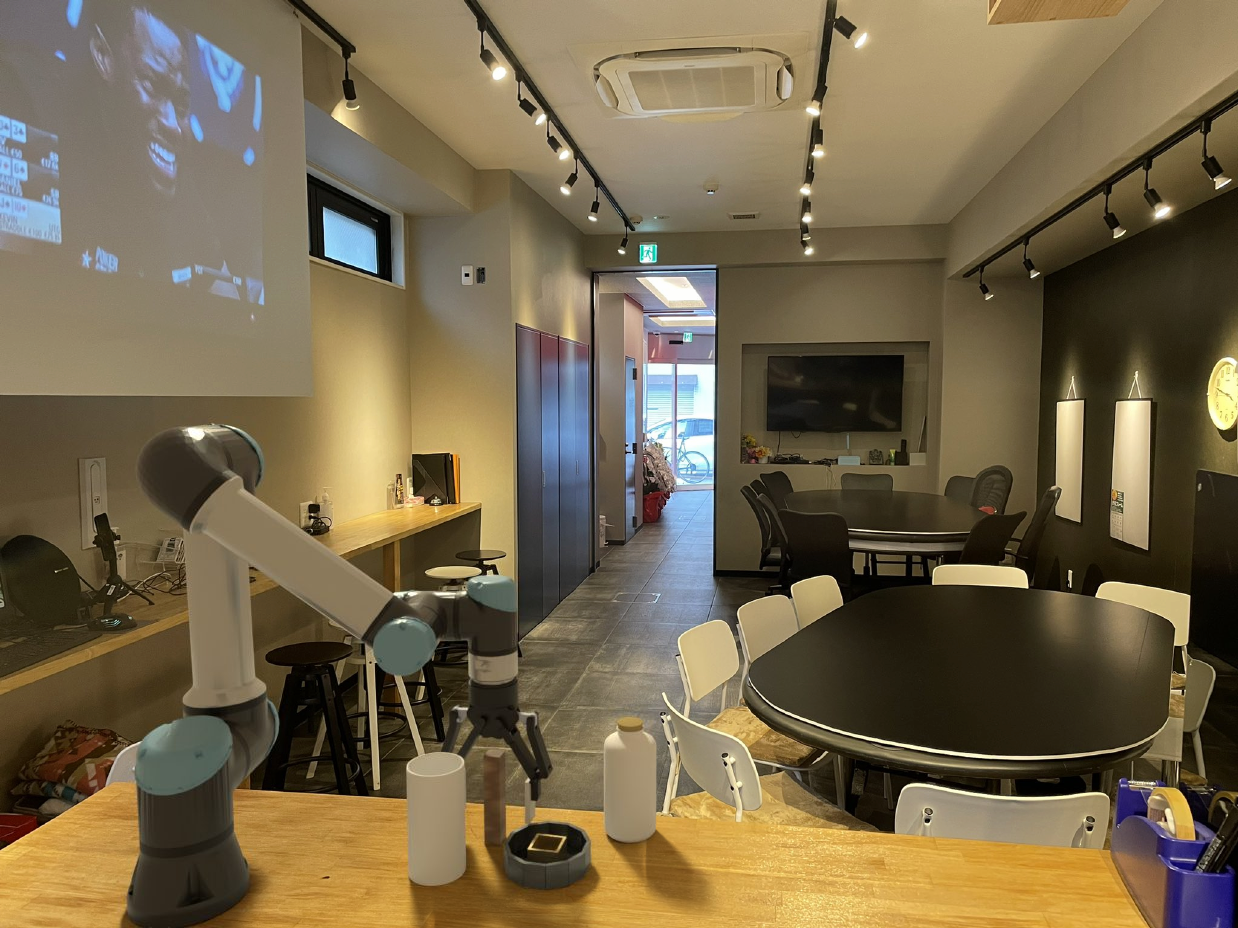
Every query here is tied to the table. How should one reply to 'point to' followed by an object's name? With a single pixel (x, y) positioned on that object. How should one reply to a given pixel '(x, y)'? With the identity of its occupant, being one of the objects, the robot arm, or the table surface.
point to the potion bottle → (630, 782)
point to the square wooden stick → (494, 797)
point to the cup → (436, 818)
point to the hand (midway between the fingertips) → (495, 815)
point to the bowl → (547, 855)
